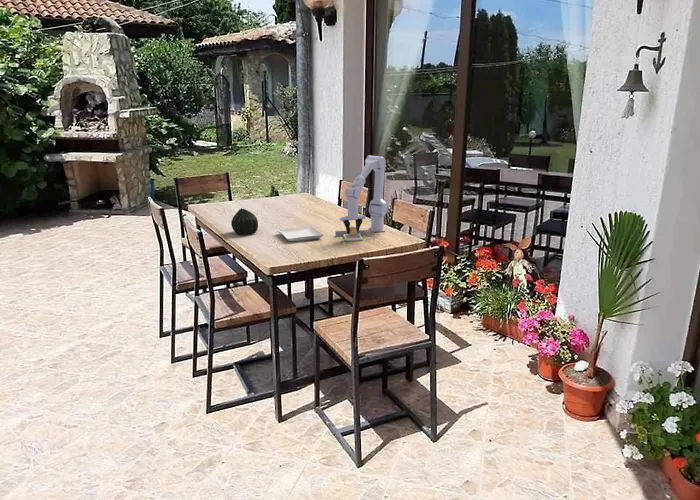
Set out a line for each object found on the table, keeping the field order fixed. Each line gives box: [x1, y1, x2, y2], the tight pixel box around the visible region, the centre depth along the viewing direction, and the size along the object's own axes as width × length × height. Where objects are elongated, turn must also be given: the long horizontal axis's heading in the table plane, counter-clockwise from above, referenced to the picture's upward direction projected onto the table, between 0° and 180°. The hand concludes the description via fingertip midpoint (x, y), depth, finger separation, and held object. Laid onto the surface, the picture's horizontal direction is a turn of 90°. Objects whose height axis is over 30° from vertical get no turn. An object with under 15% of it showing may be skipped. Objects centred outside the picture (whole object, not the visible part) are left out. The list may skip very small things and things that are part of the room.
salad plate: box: [276, 225, 324, 242], centre depth 302 cm, size 21×21×3 cm
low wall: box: [335, 229, 368, 237], centre depth 304 cm, size 1×18×3 cm, turn 97°
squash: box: [230, 208, 259, 236], centre depth 307 cm, size 14×15×15 cm
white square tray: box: [342, 234, 364, 242], centre depth 299 cm, size 10×10×2 cm
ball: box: [349, 226, 357, 236], centre depth 298 cm, size 5×5×5 cm
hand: (352, 232), depth 298 cm, fingers closed on ball, 5 cm apart
